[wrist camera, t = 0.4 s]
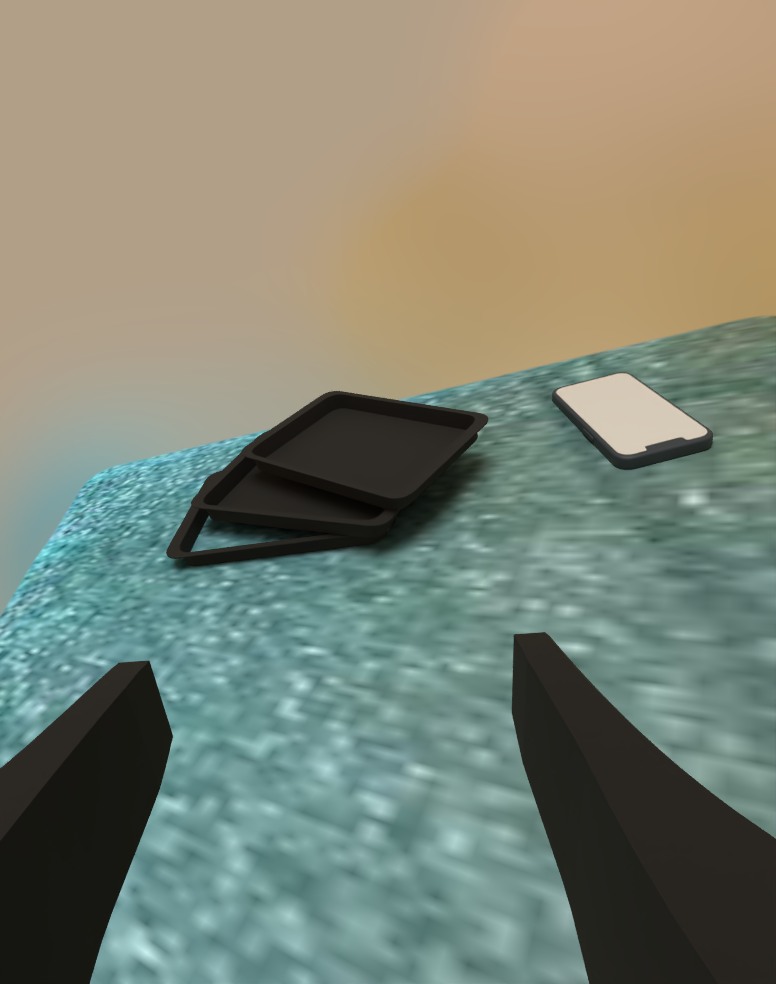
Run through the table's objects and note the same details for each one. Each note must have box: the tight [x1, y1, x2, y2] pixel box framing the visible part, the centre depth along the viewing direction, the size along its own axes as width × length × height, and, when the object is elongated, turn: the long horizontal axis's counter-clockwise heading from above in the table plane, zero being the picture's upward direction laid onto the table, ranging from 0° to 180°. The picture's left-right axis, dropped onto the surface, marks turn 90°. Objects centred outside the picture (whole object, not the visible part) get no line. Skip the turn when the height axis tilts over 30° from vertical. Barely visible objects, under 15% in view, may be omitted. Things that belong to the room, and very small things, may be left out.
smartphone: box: [552, 373, 713, 470], centre depth 55 cm, size 9×2×16 cm
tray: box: [166, 391, 488, 566], centre depth 55 cm, size 30×23×5 cm
